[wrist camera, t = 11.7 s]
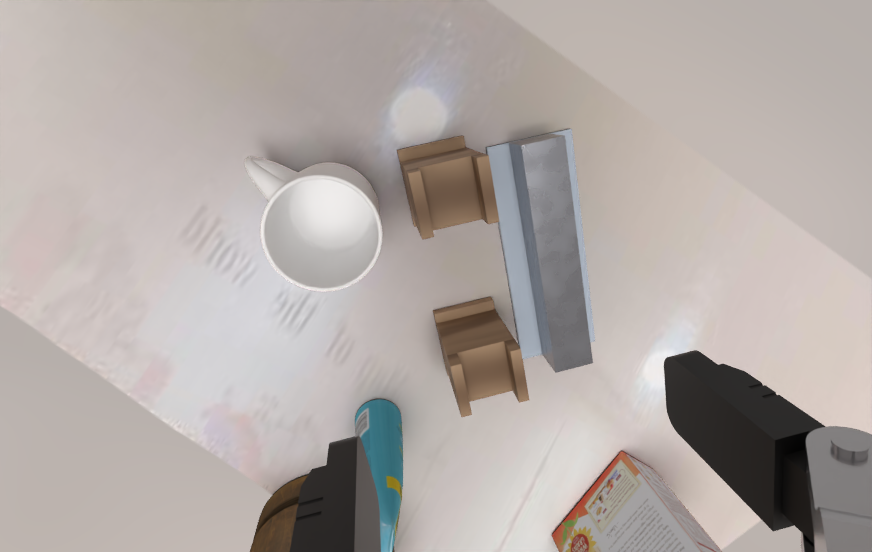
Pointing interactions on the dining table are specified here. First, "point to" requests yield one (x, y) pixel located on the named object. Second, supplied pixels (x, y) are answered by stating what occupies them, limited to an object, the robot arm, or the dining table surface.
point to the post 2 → (479, 353)
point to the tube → (384, 461)
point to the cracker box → (631, 515)
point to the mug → (317, 223)
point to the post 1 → (447, 185)
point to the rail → (552, 249)
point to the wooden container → (278, 519)
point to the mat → (516, 246)
